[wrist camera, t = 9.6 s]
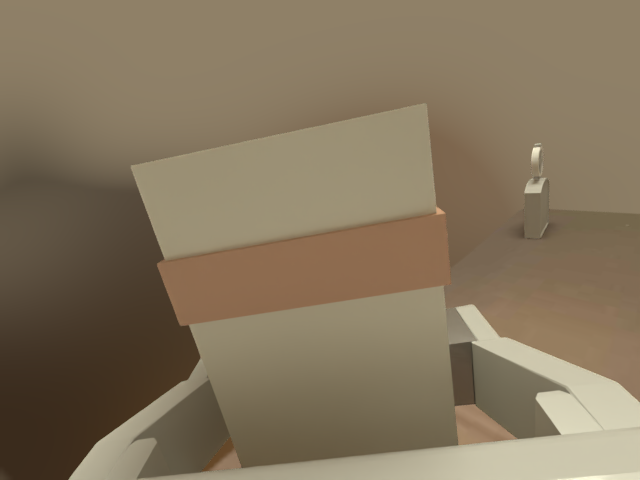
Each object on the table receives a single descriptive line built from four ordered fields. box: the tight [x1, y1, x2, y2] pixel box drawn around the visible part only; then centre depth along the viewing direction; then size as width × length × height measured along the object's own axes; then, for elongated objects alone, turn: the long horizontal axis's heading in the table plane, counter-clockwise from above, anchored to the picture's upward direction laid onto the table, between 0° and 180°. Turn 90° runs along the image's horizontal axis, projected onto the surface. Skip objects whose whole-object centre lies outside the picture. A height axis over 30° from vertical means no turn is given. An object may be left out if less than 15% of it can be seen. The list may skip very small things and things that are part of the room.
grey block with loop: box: [524, 144, 549, 239], centre depth 67 cm, size 3×9×18 cm, turn 139°
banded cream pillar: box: [130, 103, 458, 468], centre depth 9 cm, size 5×5×14 cm
